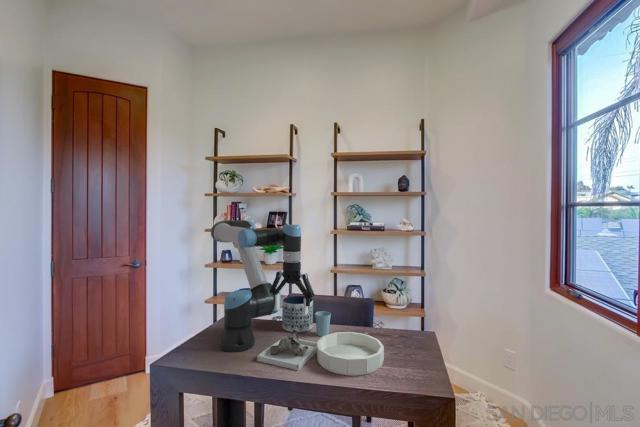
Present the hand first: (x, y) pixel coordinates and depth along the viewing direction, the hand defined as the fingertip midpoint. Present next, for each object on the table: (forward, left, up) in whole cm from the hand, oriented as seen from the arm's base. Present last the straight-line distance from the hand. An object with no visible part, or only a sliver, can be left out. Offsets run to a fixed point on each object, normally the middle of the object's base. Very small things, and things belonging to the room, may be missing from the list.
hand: (291, 311), depth 130 cm
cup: (+4, +25, -18) cm, 31 cm away
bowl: (+24, +6, -18) cm, 30 cm away
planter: (-12, +29, -18) cm, 36 cm away
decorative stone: (0, 0, -18) cm, 18 cm away
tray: (0, 0, -18) cm, 18 cm away
